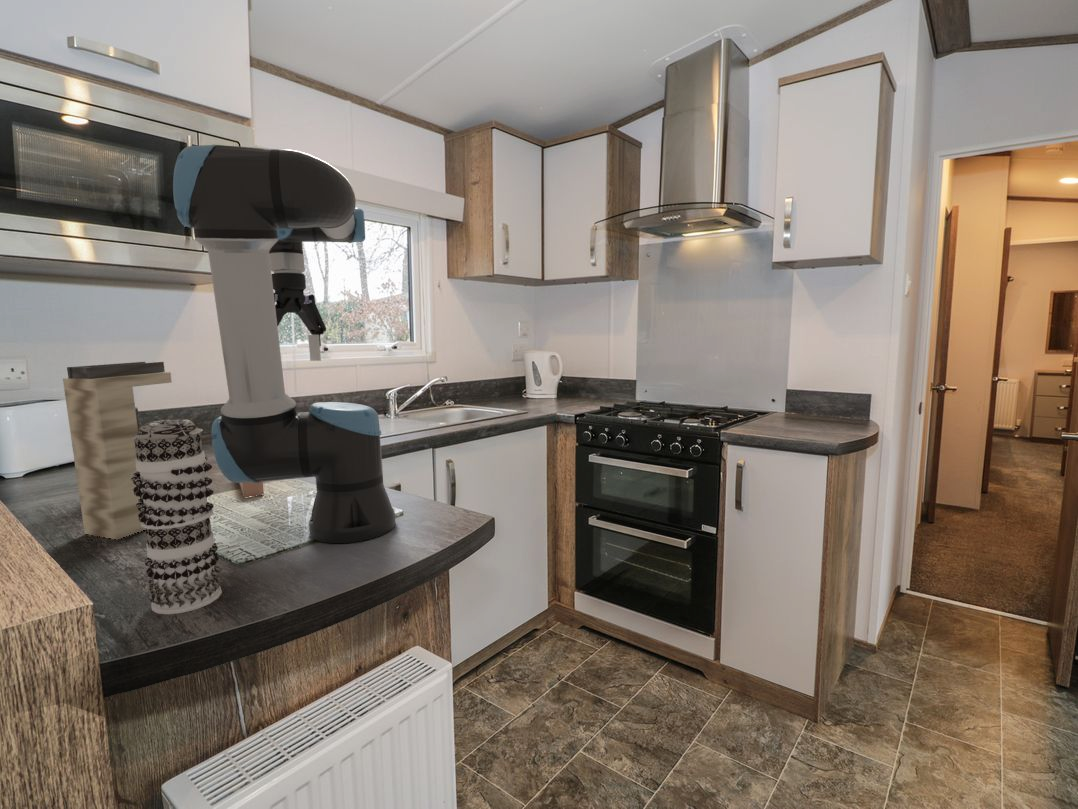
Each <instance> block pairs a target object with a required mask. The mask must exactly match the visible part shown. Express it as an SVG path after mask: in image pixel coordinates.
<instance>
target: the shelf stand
mask: <svg viewBox="0 0 1078 809" xmlns="http://www.w3.org/2000/svg"><path fill="white" fill-rule="evenodd" d="M66 371H67V377H63V378H62V382H63V389H64V390H63V391H64V396H65V402H66V411H67V417H68V418H67V420H68V424H69V432H70V439H71V446H72V452H73V453H72V454H73V461H74V469H75V474H76V481H77V490H78V496H79V503H80V510H81V517H82V523H83V531H84V535H85V534H89V535H88V536H91V535H94V536H93V537H97V536H98V538H103V537H105V538H104V539H108V538H111V539H110V540H114V539H116V541H118V539H119V540H122V539H124V538H123V537H125V538H127V537H130V536H132V535H131V534H133V535H135V534H134V533H136V534H138V533H137V532H139V533H141V531H142V532H144V531H143V530H145V531H146V528H143V527H141V522H140V521H139V517H138V514H139V513H140V512H141V511H139V510H138V507H137V506H136V504H137V502H138V500H139V499H140V497H139V496H135V495H134V491H133V489H134V487H136V485H135V484H134V483H133V481H132V480H131V478H132V477H133V474H134V473H135V472H137V469H136V458H137V455H136V448H135V441H134V439H131V437H132V436H134V435H136V434H137V432H138V427H137V419H136V411H135V407H136V405H135V404H136V403H135V396H134V389H133V388H134V387H142V386H143V387H144V386H152V385H161V384H169V383H173V382H172V381H173V380H172V373H171V371H169V372H168V371H165V363H164V361H156V362H154V361H152V362H146V361H136V362H135V361H134V362H123V363H110V364H109V363H108V364H107V363H106V364H105V363H104V364H97V365H95V364H94V365H80V366H69V367H68V366H67V367H66ZM140 490H141V491H142V489H140ZM129 535H130V536H129ZM99 536H100V537H99ZM126 536H127V537H126ZM121 538H122V539H121Z"/></svg>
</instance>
